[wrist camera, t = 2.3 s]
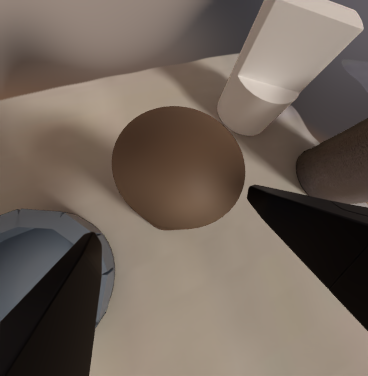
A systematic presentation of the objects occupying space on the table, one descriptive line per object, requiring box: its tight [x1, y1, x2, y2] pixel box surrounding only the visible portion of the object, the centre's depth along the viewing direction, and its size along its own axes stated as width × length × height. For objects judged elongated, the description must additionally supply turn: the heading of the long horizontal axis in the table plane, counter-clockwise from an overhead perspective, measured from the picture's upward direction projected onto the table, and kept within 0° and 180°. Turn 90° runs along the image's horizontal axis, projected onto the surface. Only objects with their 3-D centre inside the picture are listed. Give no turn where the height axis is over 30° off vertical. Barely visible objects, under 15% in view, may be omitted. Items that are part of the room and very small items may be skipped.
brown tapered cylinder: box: [112, 106, 245, 230], centre depth 11 cm, size 5×5×12 cm
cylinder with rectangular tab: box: [217, 0, 364, 136], centre depth 18 cm, size 9×9×12 cm
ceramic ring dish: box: [0, 209, 115, 328], centre depth 12 cm, size 13×13×3 cm
